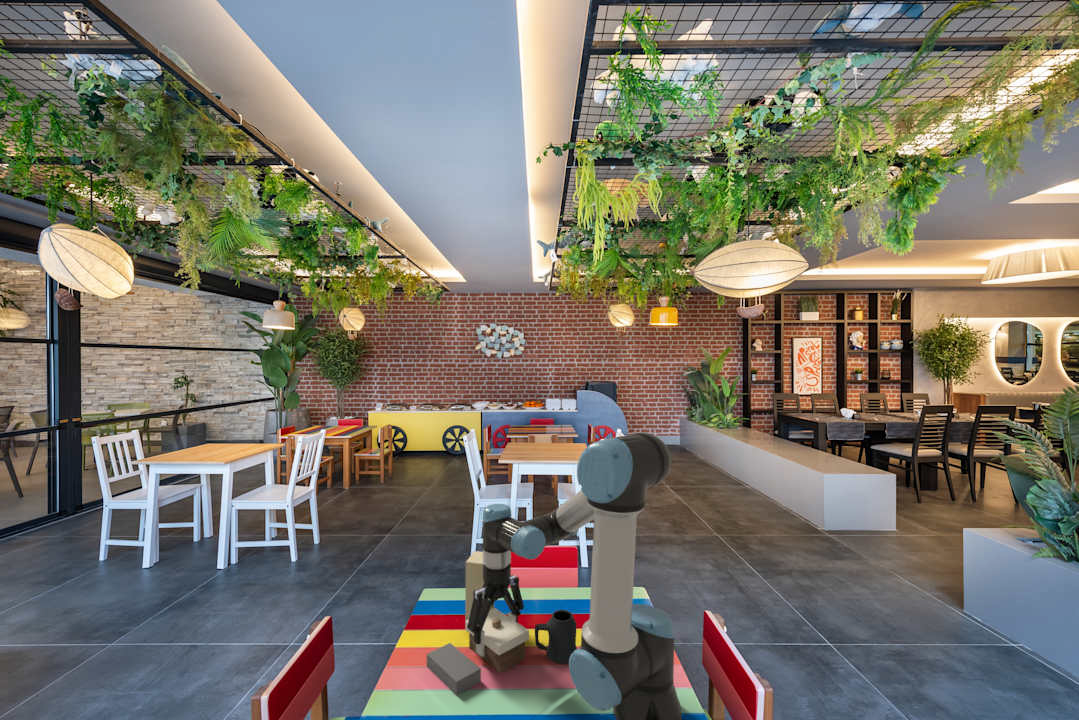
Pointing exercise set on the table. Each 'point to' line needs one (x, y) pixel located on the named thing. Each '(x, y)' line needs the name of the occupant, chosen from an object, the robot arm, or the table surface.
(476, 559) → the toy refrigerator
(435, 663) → the block
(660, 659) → the robot arm
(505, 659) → the box
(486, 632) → the lid
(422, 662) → the table surface
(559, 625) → the mug
